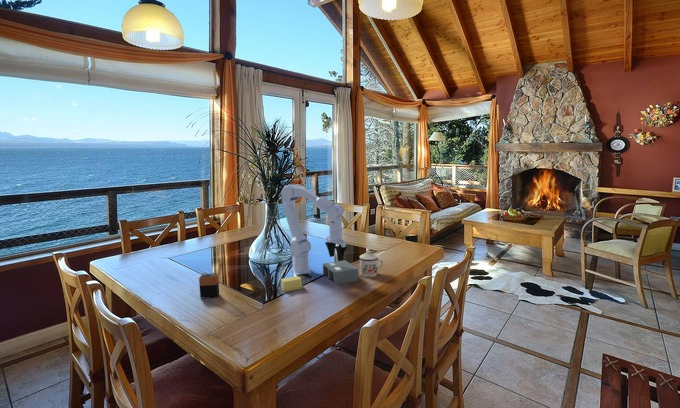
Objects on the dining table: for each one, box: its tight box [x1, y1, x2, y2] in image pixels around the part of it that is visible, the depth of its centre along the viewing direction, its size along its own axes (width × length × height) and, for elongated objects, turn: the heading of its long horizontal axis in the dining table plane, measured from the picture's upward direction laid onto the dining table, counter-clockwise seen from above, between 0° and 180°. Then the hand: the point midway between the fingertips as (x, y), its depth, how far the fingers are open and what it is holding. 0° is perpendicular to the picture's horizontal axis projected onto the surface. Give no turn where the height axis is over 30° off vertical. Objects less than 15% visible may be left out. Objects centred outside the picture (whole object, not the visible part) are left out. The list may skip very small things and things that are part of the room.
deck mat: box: [276, 285, 307, 295], centre depth 151 cm, size 8×11×1 cm
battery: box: [198, 272, 220, 298], centre depth 144 cm, size 4×7×10 cm, turn 96°
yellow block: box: [280, 275, 303, 292], centre depth 151 cm, size 4×8×4 cm, turn 115°
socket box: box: [322, 259, 359, 285], centre depth 164 cm, size 14×12×6 cm
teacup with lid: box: [358, 250, 384, 278], centre depth 168 cm, size 12×9×12 cm
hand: (336, 258), depth 162 cm, fingers open, 7 cm apart
